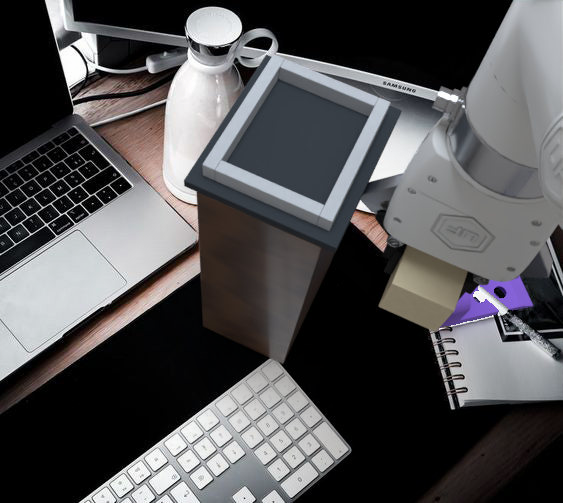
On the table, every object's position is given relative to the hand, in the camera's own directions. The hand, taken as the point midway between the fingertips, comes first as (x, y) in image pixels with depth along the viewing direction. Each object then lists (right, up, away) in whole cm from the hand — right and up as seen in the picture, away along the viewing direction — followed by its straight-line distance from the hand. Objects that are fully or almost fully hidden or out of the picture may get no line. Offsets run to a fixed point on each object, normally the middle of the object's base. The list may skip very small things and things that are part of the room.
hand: (425, 272), depth 51 cm
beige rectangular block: (0, 0, 0) cm, 0 cm away
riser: (-13, -3, +21) cm, 25 cm away
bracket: (+11, -3, +23) cm, 26 cm away
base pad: (-11, +10, -4) cm, 15 cm away
